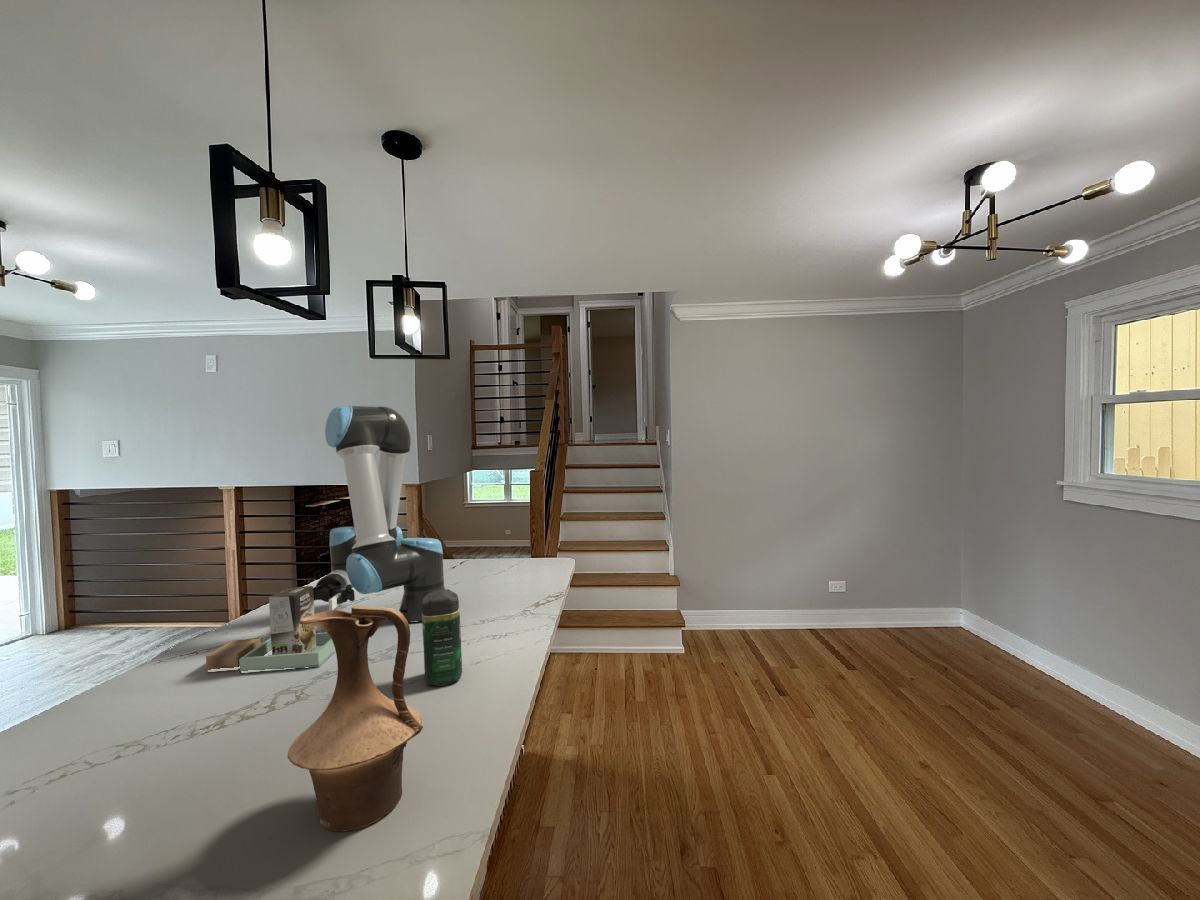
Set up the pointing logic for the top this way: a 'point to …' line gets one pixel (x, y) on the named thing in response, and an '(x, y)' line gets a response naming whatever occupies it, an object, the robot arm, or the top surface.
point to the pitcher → (358, 725)
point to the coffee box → (292, 621)
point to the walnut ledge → (231, 653)
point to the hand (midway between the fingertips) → (302, 607)
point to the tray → (288, 656)
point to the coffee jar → (441, 637)
